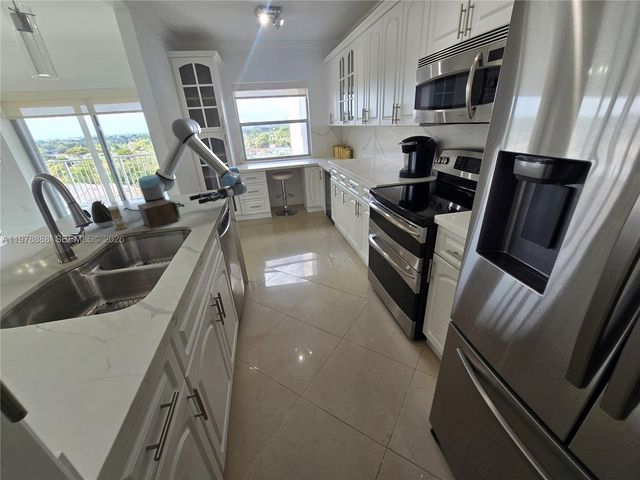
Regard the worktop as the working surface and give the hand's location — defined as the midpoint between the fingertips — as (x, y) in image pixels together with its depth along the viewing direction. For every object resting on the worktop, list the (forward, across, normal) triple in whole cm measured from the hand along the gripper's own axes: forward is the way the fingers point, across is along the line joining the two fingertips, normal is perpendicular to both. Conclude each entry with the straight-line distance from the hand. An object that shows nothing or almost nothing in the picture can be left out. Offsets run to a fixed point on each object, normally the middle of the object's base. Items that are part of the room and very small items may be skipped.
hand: (194, 200), depth 162 cm
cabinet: (+22, 0, -8) cm, 23 cm away
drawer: (+17, 0, -7) cm, 18 cm away
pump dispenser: (+44, +23, -8) cm, 50 cm away
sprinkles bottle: (+40, +9, -8) cm, 42 cm away
